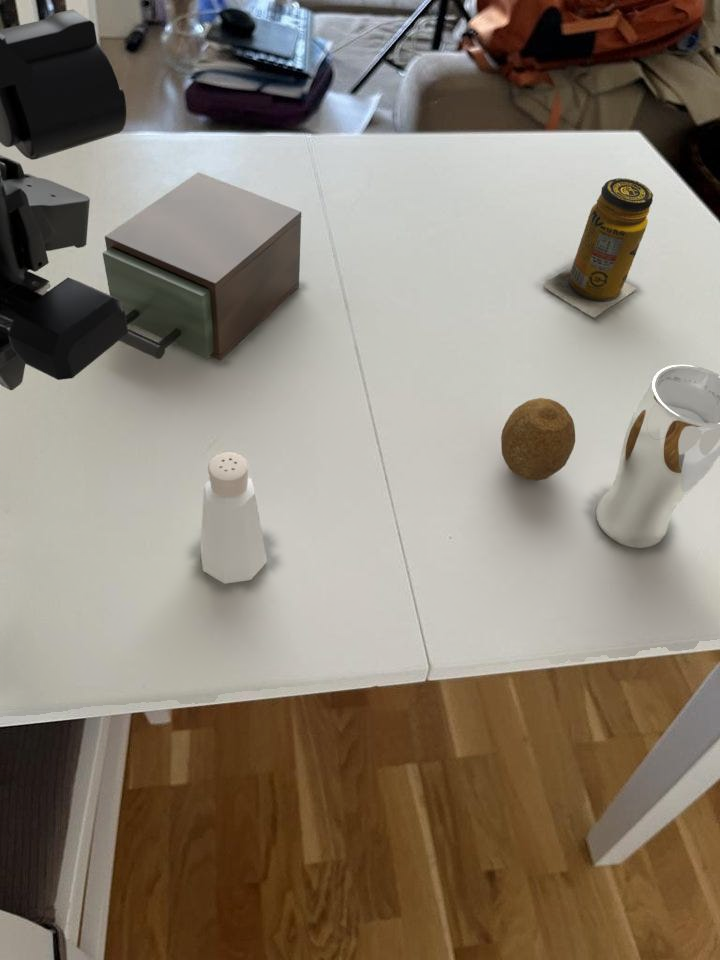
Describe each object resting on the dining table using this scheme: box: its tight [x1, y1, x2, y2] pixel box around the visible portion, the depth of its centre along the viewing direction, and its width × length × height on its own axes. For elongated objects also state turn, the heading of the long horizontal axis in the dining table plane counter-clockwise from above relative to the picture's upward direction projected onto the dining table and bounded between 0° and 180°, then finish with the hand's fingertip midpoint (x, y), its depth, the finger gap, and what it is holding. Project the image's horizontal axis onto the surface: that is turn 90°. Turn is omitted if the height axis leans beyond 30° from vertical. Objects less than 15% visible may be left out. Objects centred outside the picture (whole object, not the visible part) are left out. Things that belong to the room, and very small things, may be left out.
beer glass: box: [595, 364, 720, 549], centre depth 66 cm, size 7×7×15 cm
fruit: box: [500, 397, 576, 481], centre depth 72 cm, size 6×6×8 cm
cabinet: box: [104, 171, 302, 362], centre depth 84 cm, size 15×13×9 cm
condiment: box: [541, 177, 654, 319], centre depth 89 cm, size 7×8×12 cm
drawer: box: [102, 248, 214, 360], centre depth 81 cm, size 18×11×7 cm, turn 151°
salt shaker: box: [199, 451, 268, 584], centre depth 62 cm, size 5×5×11 cm
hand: (12, 385), depth 58 cm, fingers closed
